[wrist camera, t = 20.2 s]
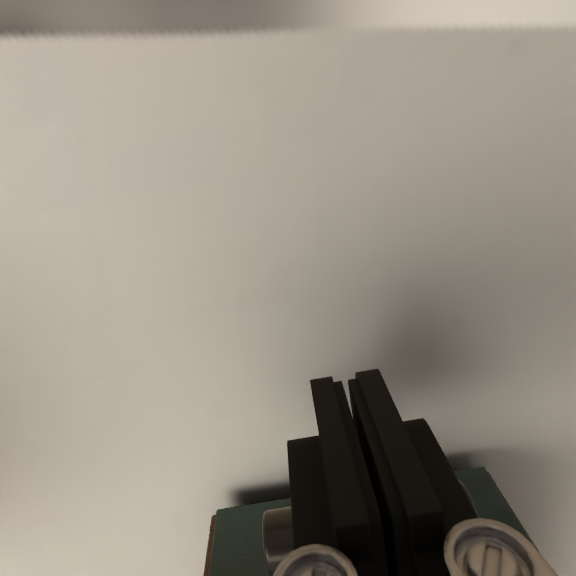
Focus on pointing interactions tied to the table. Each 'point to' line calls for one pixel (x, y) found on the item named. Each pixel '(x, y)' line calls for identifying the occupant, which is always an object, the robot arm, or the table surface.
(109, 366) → the table surface
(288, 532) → the drawer
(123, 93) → the table surface
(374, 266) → the table surface
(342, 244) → the table surface
